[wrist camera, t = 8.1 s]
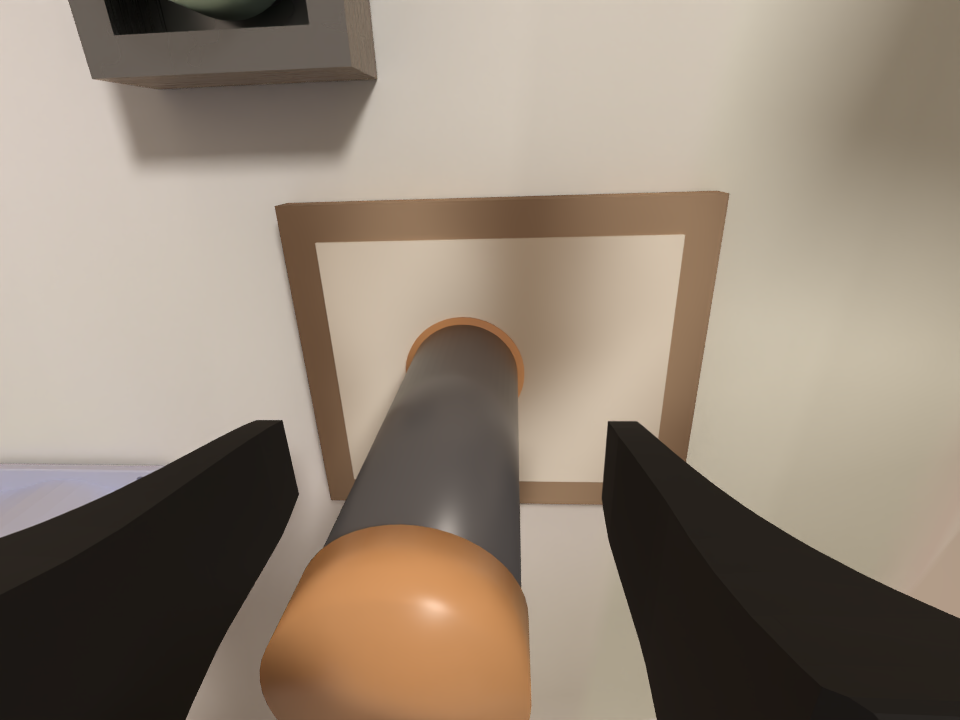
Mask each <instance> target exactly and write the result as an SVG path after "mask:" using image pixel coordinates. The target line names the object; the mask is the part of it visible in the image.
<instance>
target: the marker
mask: <svg viewBox="0 0 960 720" xmlns="http://www.w3.org/2000/svg"><path fill="white" fill-rule="evenodd" d="M260 683H261V688H262V692H263V695H264V697H265V700H266V702H267V705H268V706H269V708H270V709H271V711H272V713H273V714H274V716H275V717H276V718H277V719H278V720H529V718H530V712H531V679H530V648H529V618H528V607H527V603H526V600H525V596H524V594H523V592H522V590H521V550H520V490H519V430H518V374H517V365H516V361H515V359H514V356H513V354H512V352H511V350H510V349H509V348H508V346H507V345H506V344H505V343H504V342H503V341H502V340H501V339H500V338H499V337H498V336H497V335H495V334H493V333H492V332H490V331H488V330H486V329H484V328H481V327H477V326H472V325H453V326H448V327H445V328H442V329H440V330H438V331H436V332H434V333H433V334H431V335H430V336H428V337H427V338H426V339H425V340H424V341H423V342H422V344H421V345H420V346H419V348H418V350H417V352H416V354H415V356H414V358H413V360H412V362H411V364H410V366H409V368H408V371H407V373H406V375H405V377H404V379H403V381H402V383H401V385H400V387H399V389H398V392H397V394H396V396H395V398H394V400H393V402H392V404H391V406H390V408H389V411H388V413H387V415H386V417H385V419H384V421H383V423H382V425H381V427H380V429H379V432H378V434H377V436H376V438H375V440H374V442H373V444H372V446H371V448H370V451H369V453H368V455H367V457H366V459H365V461H364V463H363V465H362V467H361V469H360V472H359V474H358V476H357V478H356V480H355V482H354V484H353V486H352V488H351V491H350V493H349V495H348V497H347V499H346V501H345V503H344V505H343V507H342V509H341V512H340V514H339V516H338V518H337V520H336V522H335V524H334V526H333V528H332V531H331V533H330V535H329V537H328V539H327V541H326V543H325V545H324V547H323V549H321V550H320V551H319V552H318V553H317V554H316V555H315V556H314V558H313V559H312V560H311V561H310V563H309V564H308V566H307V567H306V569H305V571H304V573H303V575H302V577H301V579H300V581H299V583H298V585H297V587H296V589H295V591H294V593H293V595H292V597H291V599H290V601H289V603H288V605H287V607H286V609H285V611H284V613H283V615H282V617H281V619H280V621H279V624H278V626H277V628H276V630H275V632H274V634H273V636H272V638H271V640H270V642H269V644H268V646H267V648H266V650H265V653H264V655H263V658H262V661H261V667H260Z"/></svg>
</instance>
